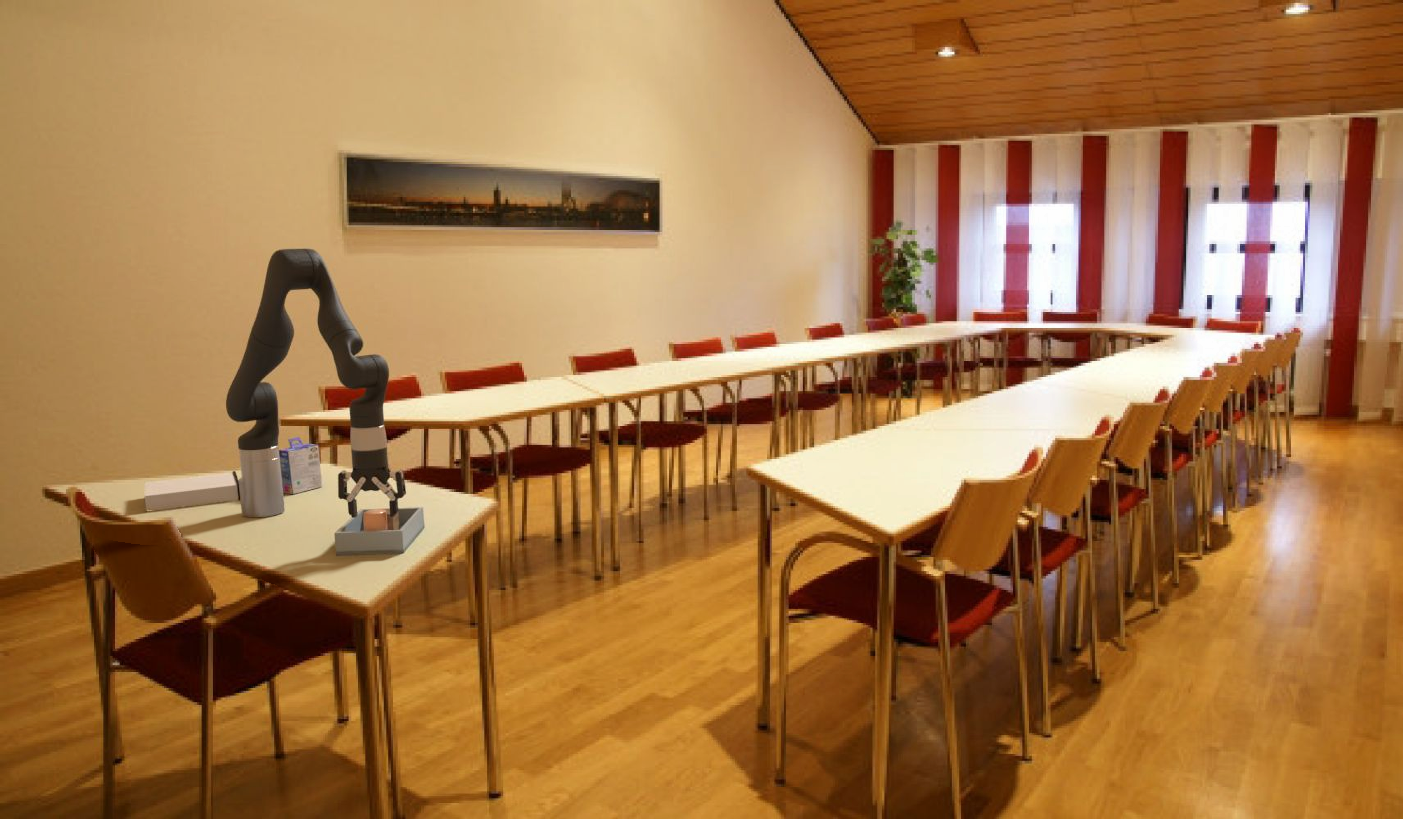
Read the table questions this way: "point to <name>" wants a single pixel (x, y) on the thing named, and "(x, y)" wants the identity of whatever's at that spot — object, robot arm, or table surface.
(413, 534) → the tote
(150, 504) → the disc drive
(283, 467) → the ink cartridge box
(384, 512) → the orange round part
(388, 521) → the cube
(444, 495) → the table surface
